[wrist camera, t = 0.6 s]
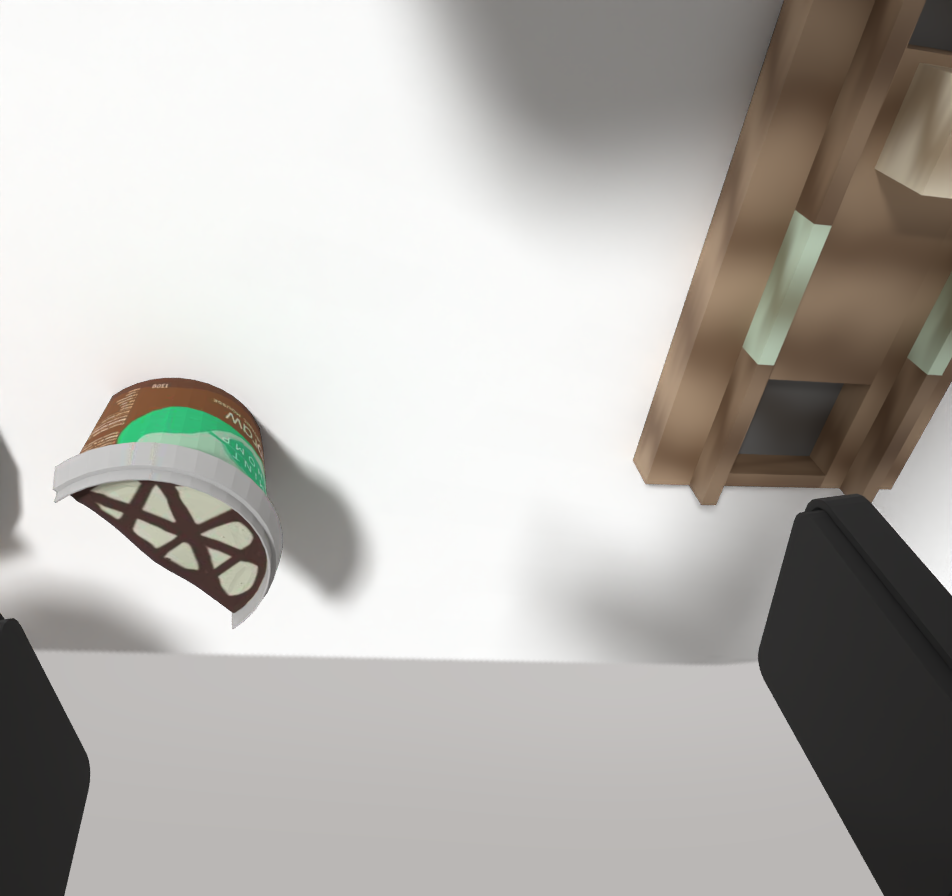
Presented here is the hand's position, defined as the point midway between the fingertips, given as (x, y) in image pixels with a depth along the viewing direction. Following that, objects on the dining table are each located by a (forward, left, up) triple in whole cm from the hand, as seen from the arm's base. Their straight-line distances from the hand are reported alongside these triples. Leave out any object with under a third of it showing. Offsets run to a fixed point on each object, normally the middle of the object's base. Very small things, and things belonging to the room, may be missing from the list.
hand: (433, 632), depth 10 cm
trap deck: (+5, +29, -34) cm, 45 cm away
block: (-1, +29, -31) cm, 43 cm away
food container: (+20, -6, -34) cm, 40 cm away
